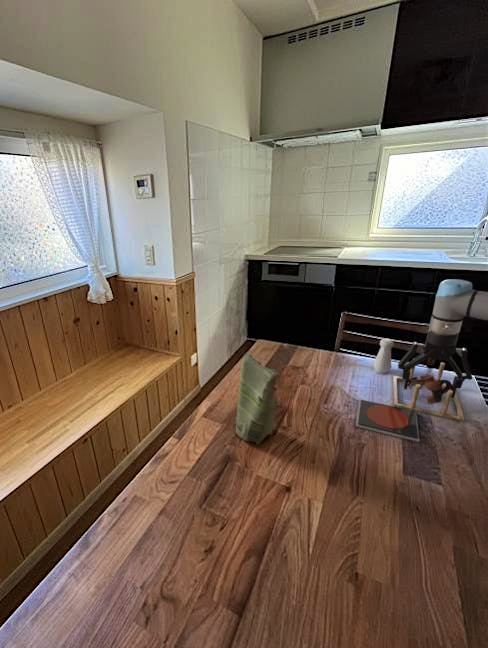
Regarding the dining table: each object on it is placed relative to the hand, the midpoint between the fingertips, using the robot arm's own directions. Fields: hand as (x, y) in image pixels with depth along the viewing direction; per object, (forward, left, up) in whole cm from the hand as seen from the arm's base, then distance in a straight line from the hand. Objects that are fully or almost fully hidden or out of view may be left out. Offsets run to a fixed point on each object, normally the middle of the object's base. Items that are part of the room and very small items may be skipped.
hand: (427, 391), depth 110 cm
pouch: (+45, +40, -3) cm, 60 cm away
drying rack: (0, 0, -2) cm, 2 cm away
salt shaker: (+13, -13, -3) cm, 19 cm away
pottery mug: (0, 0, -2) cm, 2 cm away
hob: (+11, +18, -2) cm, 21 cm away
